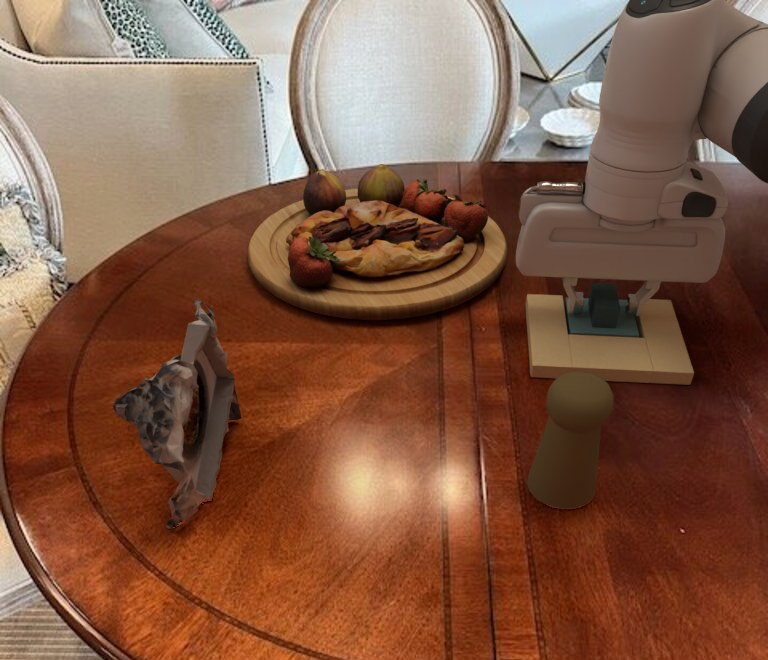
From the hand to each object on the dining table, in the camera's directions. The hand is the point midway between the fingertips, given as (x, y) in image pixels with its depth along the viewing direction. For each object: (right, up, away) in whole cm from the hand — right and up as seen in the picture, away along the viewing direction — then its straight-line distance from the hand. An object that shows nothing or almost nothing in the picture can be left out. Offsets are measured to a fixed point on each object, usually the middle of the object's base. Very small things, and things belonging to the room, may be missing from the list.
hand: (603, 311), depth 85 cm
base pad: (0, -3, -1) cm, 4 cm away
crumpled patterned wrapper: (-40, -18, -15) cm, 47 cm away
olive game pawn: (-8, -20, -16) cm, 27 cm away
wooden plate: (-25, +10, +13) cm, 30 cm away
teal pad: (0, -1, +1) cm, 2 cm away
